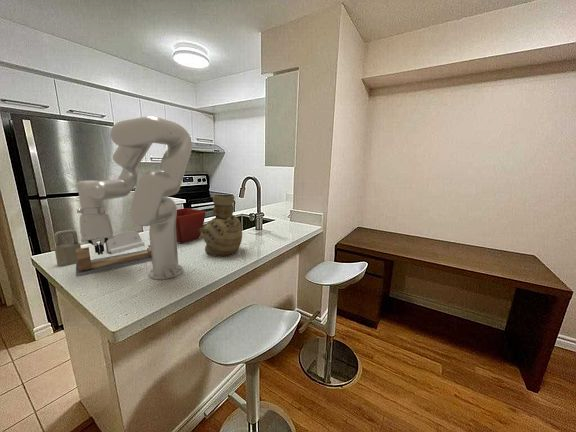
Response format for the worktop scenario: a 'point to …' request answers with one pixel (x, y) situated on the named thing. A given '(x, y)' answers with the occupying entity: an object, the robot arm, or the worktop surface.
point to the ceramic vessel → (222, 228)
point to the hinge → (123, 242)
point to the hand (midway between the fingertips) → (100, 253)
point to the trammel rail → (122, 258)
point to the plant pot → (188, 224)
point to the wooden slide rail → (112, 266)
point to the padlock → (66, 249)
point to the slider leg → (83, 258)
